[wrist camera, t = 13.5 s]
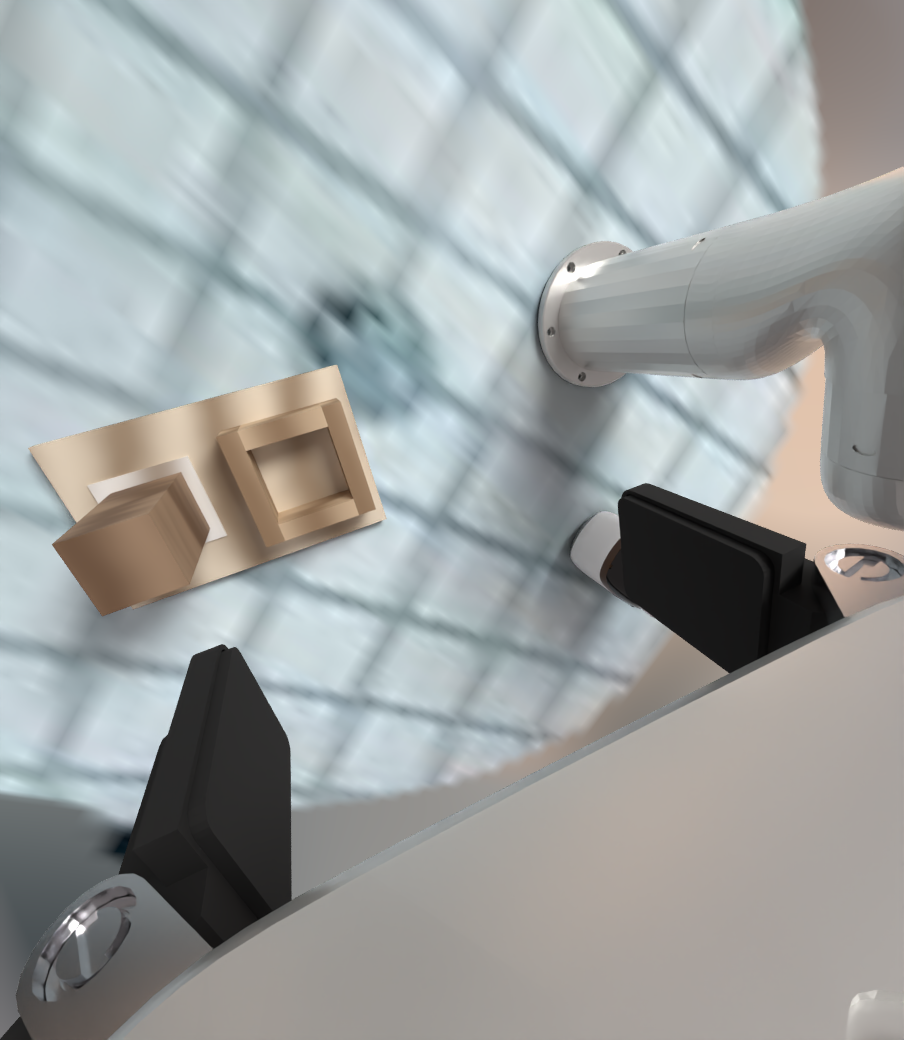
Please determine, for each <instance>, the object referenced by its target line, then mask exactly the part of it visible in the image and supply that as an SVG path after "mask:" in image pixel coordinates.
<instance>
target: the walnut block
mask: <svg viewBox="0 0 904 1040" xmlns="http://www.w3.org/2000/svg"><path fill="white" fill-rule="evenodd" d="M209 531H210V527H209V525H208V523H207V521H206V519H205V517H204V515H203V514H202V512H201V510H200V508H199V506H198V504H197V502H196V500H195V498H194V496H193V494H192V492H191V490H190V489H189V487H188V485H187V483H186V481H185V479H184V477H183V475H182V473H181V472H179V473H176V474H173V475H169V476H166V477H163V478H160V479H156V480H153V481H150V482H147V483H143V484H140V485H137V486H133V487H130V488H127V489H124V490H120V491H117V492H114V493H111V494H109V495H108V496H107V497H106V498H105V499H104V500H103V501H101V502H100V503H99V504H98V505H97V506H96V507H94V508H93V509H92V510H91V511H90V512H89V513H88V514H86V515H85V516H84V517H83V518H82V519H81V520H80V521H78V522H77V523H76V524H75V525H74V526H73V527H72V528H70V529H69V530H68V531H67V532H66V533H65V534H63V535H62V536H61V537H60V538H59V539H58V540H57V541H55V542H54V543H53V544H52V545H53V547H54V548H55V550H56V551H57V553H58V554H59V555H60V557H61V558H62V560H63V561H64V563H65V564H66V565H67V567H68V568H69V570H70V571H71V572H72V574H73V575H74V577H75V578H76V580H77V581H78V582H79V584H80V585H81V587H82V588H83V590H84V591H85V592H86V594H87V595H88V597H89V598H90V600H91V601H92V602H93V604H94V605H95V607H96V608H97V610H98V611H99V612H100V614H101V615H102V616H104V615H107V614H110V613H113V612H115V611H118V610H121V609H124V608H127V607H129V606H132V605H135V604H138V603H140V602H143V601H146V600H149V599H152V598H154V597H157V596H160V595H163V594H165V593H168V592H171V591H174V590H176V589H179V588H182V587H185V586H188V585H190V582H191V580H192V577H193V574H194V572H195V569H196V566H197V563H198V561H199V558H200V555H201V552H202V550H203V547H204V544H205V542H206V539H207V536H208V533H209Z"/></svg>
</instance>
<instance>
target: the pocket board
mask: <svg viewBox="0 0 904 1040" xmlns="http://www.w3.org/2000/svg"><path fill="white" fill-rule="evenodd" d="M28 449H29V450H30V452H31V453H32V455H33V456H34V458H35V460H36V461H37V463H38V464H39V466H40V467H41V469H42V470H43V472H44V473H45V475H46V476H47V478H48V480H49V481H50V483H51V484H52V486H53V487H54V489H55V490H56V492H57V493H58V495H59V496H60V498H61V499H62V501H63V503H64V504H65V506H66V507H67V509H68V510H69V512H70V513H71V515H72V516H73V518H74V519H75V521H76V523H77V522H78V521H80V520H81V519H82V518H83V517H84V516H85V515H86V514H88V513H89V512H90V511H91V510H92V509H93V508H94V507H96V506H97V505H98V504H99V503H100V502H101V501H103V500H104V499H105V498H106V497H107V496H108V495H109V494H111V493H114V492H117V491H120V490H124V489H127V488H130V487H133V486H137V485H140V484H143V483H147V482H150V481H153V480H156V479H160V478H163V477H166V476H169V475H173V474H176V473H179V472H181V473H182V475H183V477H184V479H185V481H186V483H187V485H188V487H189V489H190V490H191V492H192V494H193V496H194V498H195V500H196V502H197V504H198V506H199V508H200V510H201V512H202V514H203V515H204V517H205V519H206V521H207V523H208V525H209V527H210V531H209V533H208V536H207V539H206V542H205V544H204V547H203V550H202V552H201V555H200V558H199V561H198V563H197V566H196V569H195V572H194V574H193V577H192V580H191V582H190V585H188V586H185V587H182V588H179V589H176V590H174V591H171V592H168V593H165V594H163V595H160V596H157V597H154V598H152V599H149V600H146V601H143V602H140V603H138V604H135V605H132V606H131V607H132V609H136V608H139V607H142V606H144V605H147V604H150V603H153V602H156V601H158V600H161V599H164V598H167V597H170V596H172V595H175V594H178V593H181V592H184V591H186V590H189V589H192V588H195V587H198V586H200V585H203V584H206V583H209V582H212V581H214V580H217V579H220V578H223V577H225V576H228V575H231V574H234V573H237V572H239V571H242V570H245V569H248V568H251V567H253V566H256V565H259V564H262V563H265V562H267V561H270V560H273V559H276V558H279V557H281V556H284V555H287V554H290V553H293V552H295V551H298V550H301V549H304V548H307V547H309V546H312V545H315V544H318V543H321V542H323V541H326V540H329V539H332V538H335V537H337V536H340V535H343V534H346V533H349V532H351V531H354V530H357V529H360V528H363V527H365V526H368V525H371V524H374V523H377V522H379V521H382V520H385V519H386V516H385V513H384V510H383V506H382V503H381V500H380V497H379V494H378V491H377V488H376V485H375V482H374V478H373V475H372V472H371V469H370V466H369V463H368V460H367V457H366V453H365V450H364V447H363V444H362V441H361V438H360V435H359V432H358V429H357V425H356V422H355V419H354V416H353V413H352V410H351V407H350V404H349V401H348V397H347V394H346V391H345V388H344V385H343V382H342V379H341V376H340V372H339V369H338V366H337V365H333V366H329V367H326V368H322V369H318V370H314V371H311V372H307V373H303V374H299V375H296V376H292V377H288V378H285V379H281V380H277V381H273V382H270V383H266V384H262V385H258V386H255V387H251V388H247V389H243V390H240V391H236V392H232V393H229V394H225V395H221V396H217V397H214V398H210V399H206V400H202V401H199V402H195V403H191V404H187V405H184V406H180V407H176V408H173V409H169V410H165V411H161V412H158V413H154V414H150V415H146V416H143V417H139V418H135V419H131V420H128V421H124V422H120V423H117V424H113V425H109V426H105V427H102V428H98V429H94V430H90V431H87V432H83V433H79V434H75V435H72V436H68V437H64V438H61V439H57V440H53V441H49V442H46V443H42V444H38V445H35V446H32V447H30V448H28Z"/></svg>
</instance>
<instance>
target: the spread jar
mask: <svg viewBox="0 0 904 1040" xmlns="http://www.w3.org/2000/svg"><path fill="white" fill-rule="evenodd" d="M570 557H571V559H572V561H573V563H574V564H575V565H576V566H577V567H578V568H579V569H580V570H581V571H582V572H584V573H585V574H586V575H588V576H589V577H590V578H592V579H593V580H595V581H596V582H597V583H599V584H600V585H602V586H603V587H604V588H606V589H607V590H608V591H609V592H611V593H612V594H613V595H615V596H616V597H618V598H619V599H621V600H623V601H624V602H626V603H627V604H629V605H631V606H632V607H636V608H638V609H642V608H641V607H639V606H638V605H637V604H635V603H634V602H633V601H632V600H630V598H629V597H628V596H627V594H626V592H625V589H624V579H623V566H622V553H621V540H620V527H619V515H616V514H614V513H611V512H608V511H601V512H598V513H596V514H595V515H593V516H592V517H591V518H590V519H588V520H587V521H586V522H585V523H584V525H583V526H582V527H581V528H580V530H579V531H578V533H577V534H576V536H575V538H574V540H573V543H572V546H571V550H570ZM642 610H643V609H642ZM643 611H645V610H643ZM645 612H646V611H645ZM646 613H647V612H646ZM647 614H649V613H647ZM649 615H650V614H649ZM650 616H652V615H650ZM652 617H653V616H652Z"/></svg>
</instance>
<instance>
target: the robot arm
mask: <svg viewBox="0 0 904 1040" xmlns="http://www.w3.org/2000/svg"><path fill="white" fill-rule="evenodd" d="M538 329H539V339H540V342H541V346H542V350H543V352H544V355H545V357H546V359H547V361H548V363H549V364H550V366H551V367H552V368H553V370H554V371H555V372H556V373H557V374H558V375H559V376H560V377H561V378H563V379H564V380H566V381H568V382H570V383H571V384H575V385H579V386H584V387H600V386H604V385H607V384H610V383H612V382H614V381H616V380H618V379H619V378H621V377H622V376H623V375H625V374H626V373H635V374H650V375H665V376H680V377H695V378H709V379H724V380H752V379H759V378H763V377H767V376H770V375H773V374H776V373H778V372H781V371H783V370H785V369H787V368H789V367H791V366H793V365H794V364H796V363H798V362H799V361H801V360H803V359H804V358H806V357H807V356H809V355H810V354H812V353H813V352H815V351H816V350H817V349H819V348H820V347H821V346H823V345H824V349H825V373H824V375H825V378H826V383H825V396H824V410H823V411H824V412H823V424H822V438H821V457H820V467H821V468H820V470H821V471H820V472H821V481H822V485H823V488H824V491H825V493H826V494H827V496H828V498H829V499H830V501H831V502H832V503H833V504H834V505H835V506H836V507H837V508H838V509H840V510H841V511H843V512H844V513H846V514H848V515H850V516H851V517H853V518H855V519H858V520H860V521H863V522H866V523H869V524H872V525H876V526H880V527H884V528H889V529H894V530H900V531H904V166H903V167H901V168H899V169H896V170H894V171H891V172H889V173H887V174H884V175H882V176H880V177H877V178H874V179H872V180H869V181H867V182H864V183H861V184H859V185H856V186H853V187H851V188H848V189H846V190H843V191H841V192H838V193H835V194H833V195H830V196H827V197H824V198H820V199H817V200H814V201H811V202H808V203H805V204H802V205H798V206H795V207H792V208H789V209H786V210H782V211H779V212H776V213H773V214H769V215H765V216H762V217H758V218H754V219H751V220H747V221H744V222H740V223H736V224H733V225H729V226H725V227H722V228H718V229H714V230H711V231H707V232H703V233H700V234H696V235H692V236H689V237H685V238H681V239H678V240H674V241H670V242H667V243H663V244H659V245H656V246H652V247H648V248H645V249H641V250H637V251H634V252H633V251H632V250H631V249H629V248H628V247H626V246H624V245H622V244H619V243H617V242H611V241H600V242H594V243H591V244H588V245H584V246H582V247H580V248H578V249H576V250H574V251H573V252H571V253H570V254H569V255H568V256H567V257H565V258H564V259H563V260H562V261H561V262H560V264H559V265H558V266H557V267H556V268H555V270H554V271H553V273H552V275H551V276H550V278H549V280H548V282H547V284H546V286H545V289H544V292H543V294H542V298H541V303H540V307H539V317H538ZM547 330H548V334H547ZM618 514H619V527H620V540H621V553H622V566H623V579H624V589H625V592H626V594H627V596H628V597H629V598H630V600H632V601H633V602H634V603H635V604H637V605H638V606H639V607H641V608H642V609H643V610H645V611H646V612H647V613H649V614H650V615H652V616H653V617H654V618H656V619H657V620H658V621H660V622H661V623H662V624H664V625H665V626H666V627H668V628H669V629H670V630H672V631H673V632H674V633H676V634H677V635H679V636H680V637H681V638H683V639H684V640H685V641H687V642H688V643H689V644H691V645H692V646H693V647H695V648H696V649H697V650H699V651H700V652H701V653H703V654H704V655H706V656H707V657H708V658H709V659H711V660H712V661H714V662H715V663H716V664H718V665H719V666H720V667H722V668H723V669H725V670H726V671H727V672H728V673H730V674H728V675H726V676H724V677H722V678H720V679H718V680H716V681H714V682H712V683H710V684H708V685H706V686H704V687H702V688H700V689H698V690H696V691H694V692H692V693H690V694H688V695H686V696H684V697H682V698H680V699H678V700H676V701H674V702H672V703H670V704H668V705H666V706H664V707H662V708H660V709H658V710H656V711H654V712H652V713H650V714H648V715H646V716H645V717H643V718H640V719H639V720H636V721H635V722H633V723H631V724H629V725H627V726H625V727H623V728H621V729H619V730H617V731H615V732H613V733H611V734H609V735H607V736H605V737H603V738H601V739H599V740H597V741H595V742H593V743H591V744H589V745H587V746H586V747H584V748H581V749H579V750H577V751H576V752H574V753H572V754H570V755H568V756H566V757H564V758H562V759H560V760H558V761H556V762H554V763H552V764H550V765H548V766H546V767H544V768H542V769H540V770H538V771H537V772H534V773H532V774H530V775H529V776H527V777H525V778H523V779H521V780H519V781H517V782H515V783H513V784H512V785H509V786H507V787H505V788H503V789H502V790H499V791H498V792H496V793H494V794H492V795H490V796H488V797H486V798H484V799H482V800H480V801H478V802H476V803H474V804H472V805H470V806H468V807H467V808H465V809H463V810H461V811H459V812H457V813H455V814H453V815H451V816H449V817H447V818H445V819H443V820H441V821H439V822H438V823H436V824H434V825H432V826H430V827H428V828H426V829H424V830H422V831H420V832H418V833H416V834H414V835H412V836H410V837H408V838H407V839H405V840H403V841H401V842H399V843H397V844H395V845H393V846H391V847H389V848H388V849H386V850H384V851H382V852H380V853H378V854H376V855H374V856H373V857H371V858H369V859H367V860H365V861H364V862H361V863H360V864H358V865H356V866H354V867H352V868H350V869H348V870H347V871H345V872H343V873H341V874H339V875H337V876H335V877H334V878H332V879H330V880H328V881H326V882H324V883H322V884H320V885H319V886H317V887H315V888H313V889H311V890H309V891H307V892H306V893H304V894H302V895H300V896H298V897H297V898H295V899H293V900H291V764H290V745H289V741H288V738H287V736H286V733H285V732H284V730H283V728H282V726H281V724H280V723H279V721H278V719H277V717H276V715H275V714H274V712H273V710H272V708H271V706H270V705H269V703H268V701H267V699H266V698H265V696H264V694H263V692H262V690H261V689H260V687H259V685H258V683H257V681H256V680H255V678H254V676H253V674H252V672H251V671H250V669H249V667H248V665H247V663H246V662H245V660H244V658H243V656H242V655H241V653H240V651H239V650H238V649H237V648H236V647H233V648H230V649H228V648H227V647H226V646H225V645H223V644H221V645H219V646H216V647H214V648H211V649H208V650H206V651H203V652H200V653H198V654H195V655H193V656H192V658H191V661H190V664H189V668H188V671H187V674H186V677H185V681H184V684H183V687H182V690H181V694H180V697H179V700H178V703H177V707H176V710H175V713H174V717H173V720H172V723H171V726H170V730H169V733H168V735H167V736H166V737H165V738H164V739H163V740H162V742H161V744H160V746H159V749H158V752H157V755H156V759H155V762H154V765H153V768H152V771H151V774H150V777H149V780H148V784H147V787H146V790H145V793H144V796H143V799H142V802H141V806H140V809H139V812H138V815H137V818H136V821H135V824H134V827H133V831H132V834H131V837H130V840H129V843H128V846H127V849H126V853H125V856H124V859H123V862H122V865H121V868H120V871H119V874H118V875H117V876H114V877H112V878H109V879H107V880H104V881H102V882H100V883H99V884H97V885H96V886H94V887H93V888H91V889H89V890H88V891H86V892H85V893H84V894H83V895H81V896H80V897H79V898H78V899H77V900H75V901H74V902H73V903H72V904H71V905H70V906H69V907H67V908H66V909H65V910H64V911H63V913H62V914H61V915H60V916H59V917H58V918H57V919H56V920H55V921H54V922H53V924H52V925H51V926H50V927H49V928H48V929H47V931H46V932H45V933H44V935H43V936H42V938H41V939H40V941H39V942H38V944H37V945H36V946H35V948H34V949H33V951H32V952H31V954H30V957H29V959H28V961H27V963H26V965H25V967H24V969H23V971H22V973H21V976H20V980H19V984H18V988H17V992H16V1001H17V1008H18V1012H19V1014H20V1017H19V1018H18V1019H17V1020H16V1022H15V1023H14V1024H13V1025H12V1026H11V1027H10V1028H9V1030H8V1031H7V1032H6V1033H5V1034H4V1035H3V1037H2V1038H1V1039H0V1040H904V556H903V555H901V554H898V553H896V552H894V551H890V550H887V549H884V548H880V547H876V546H870V545H864V544H840V545H833V546H829V547H825V548H823V549H822V550H820V551H818V552H817V553H816V555H815V557H814V562H813V561H810V560H808V559H805V550H806V544H805V543H803V542H800V541H798V540H795V539H792V538H789V537H787V536H784V535H782V534H779V533H777V532H774V531H771V530H769V529H766V528H763V527H761V526H758V525H756V524H753V523H750V522H748V521H745V520H743V519H740V518H737V517H735V516H732V515H730V514H727V513H724V512H722V511H719V510H716V509H714V508H711V507H709V506H706V505H703V504H701V503H698V502H696V501H693V500H690V499H688V498H685V497H682V496H680V495H677V494H675V493H672V492H669V491H667V490H664V489H662V488H659V487H656V486H654V485H651V484H647V483H645V484H642V485H639V486H637V487H634V488H631V489H629V490H626V491H625V492H624V493H623V494H622V498H621V499H620V500H619V502H618Z"/></svg>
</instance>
